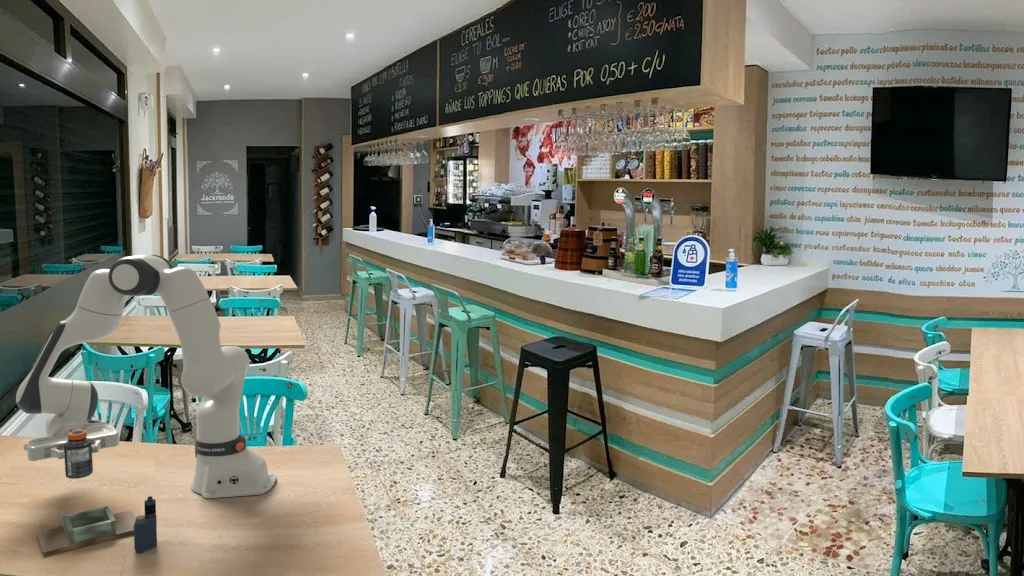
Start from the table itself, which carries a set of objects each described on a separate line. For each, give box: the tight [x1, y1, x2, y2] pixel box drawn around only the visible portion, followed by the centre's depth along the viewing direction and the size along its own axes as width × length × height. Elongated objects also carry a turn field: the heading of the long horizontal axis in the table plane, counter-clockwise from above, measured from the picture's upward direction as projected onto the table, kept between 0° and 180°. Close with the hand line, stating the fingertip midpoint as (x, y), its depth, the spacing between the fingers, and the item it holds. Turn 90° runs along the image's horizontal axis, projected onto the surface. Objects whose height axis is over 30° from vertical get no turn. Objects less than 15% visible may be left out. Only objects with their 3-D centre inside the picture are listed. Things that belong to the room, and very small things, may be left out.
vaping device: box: [133, 495, 158, 554], centre depth 162 cm, size 3×5×12 cm, turn 155°
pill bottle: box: [64, 430, 94, 480], centre depth 177 cm, size 6×6×11 cm
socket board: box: [36, 505, 136, 557], centre depth 168 cm, size 20×12×4 cm, turn 130°
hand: (78, 452), depth 176 cm, fingers closed on pill bottle, 6 cm apart
